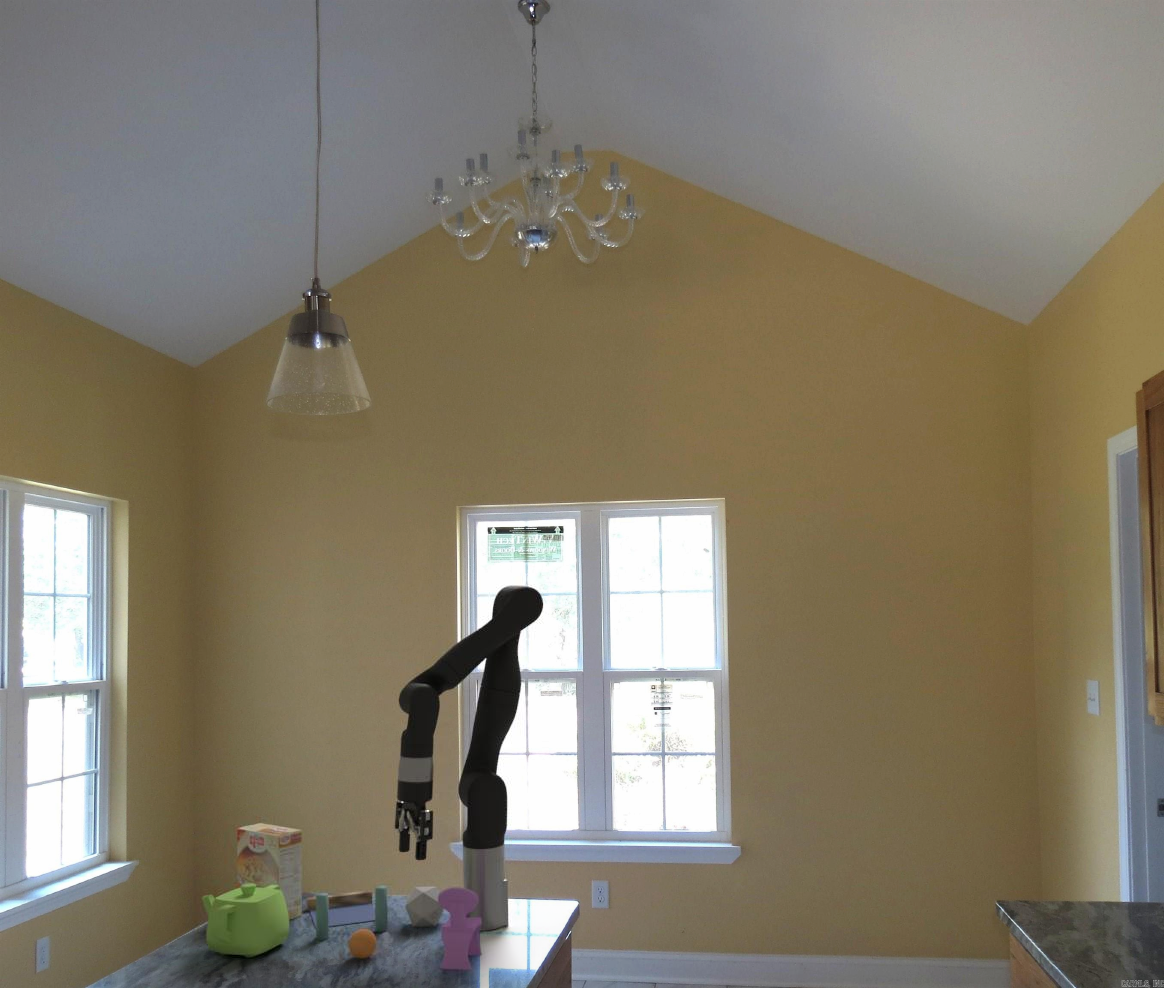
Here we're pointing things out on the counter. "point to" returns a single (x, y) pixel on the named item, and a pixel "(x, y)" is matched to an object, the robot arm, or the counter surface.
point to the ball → (362, 943)
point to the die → (424, 906)
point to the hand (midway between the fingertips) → (412, 855)
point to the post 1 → (322, 916)
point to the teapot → (246, 920)
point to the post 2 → (381, 909)
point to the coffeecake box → (272, 861)
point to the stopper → (343, 899)
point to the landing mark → (348, 914)
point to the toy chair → (459, 928)
